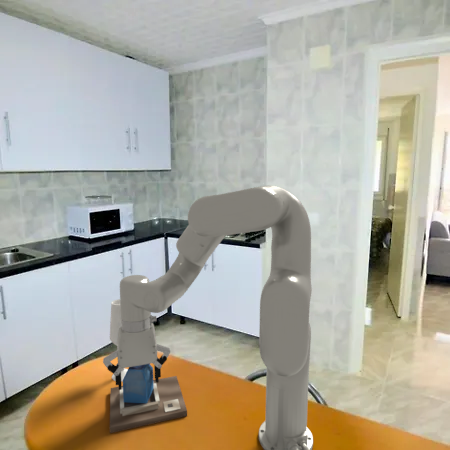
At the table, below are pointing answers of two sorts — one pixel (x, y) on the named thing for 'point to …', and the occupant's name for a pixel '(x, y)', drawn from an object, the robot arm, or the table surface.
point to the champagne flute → (116, 328)
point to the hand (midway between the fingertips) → (138, 383)
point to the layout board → (147, 406)
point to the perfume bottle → (138, 384)
